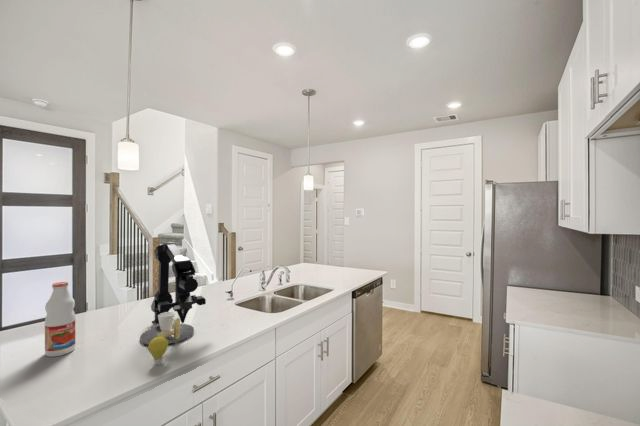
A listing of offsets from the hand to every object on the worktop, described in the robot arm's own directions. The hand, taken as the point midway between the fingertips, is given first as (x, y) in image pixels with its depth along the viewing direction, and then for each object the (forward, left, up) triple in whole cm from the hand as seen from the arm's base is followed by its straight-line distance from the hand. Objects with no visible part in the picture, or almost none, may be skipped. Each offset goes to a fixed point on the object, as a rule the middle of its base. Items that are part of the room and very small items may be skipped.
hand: (182, 322), depth 134 cm
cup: (-10, +1, -6) cm, 11 cm away
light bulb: (+9, -19, -8) cm, 22 cm away
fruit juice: (-35, -29, -8) cm, 46 cm away
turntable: (-9, 0, -8) cm, 12 cm away
